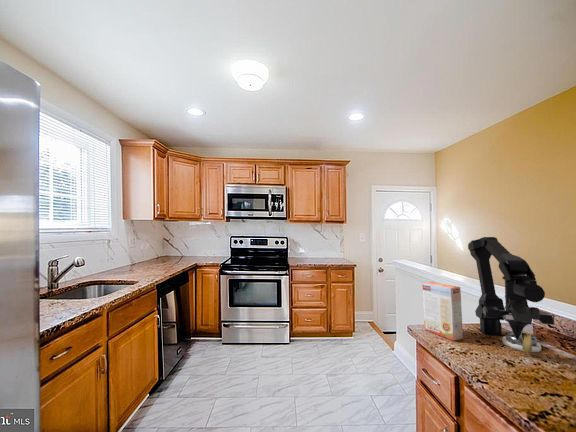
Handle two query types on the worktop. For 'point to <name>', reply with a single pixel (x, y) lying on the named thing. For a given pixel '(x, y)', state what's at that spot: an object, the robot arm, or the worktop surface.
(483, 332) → the robot arm
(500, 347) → the worktop surface
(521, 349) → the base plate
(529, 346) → the grey piece
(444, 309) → the cracker box
